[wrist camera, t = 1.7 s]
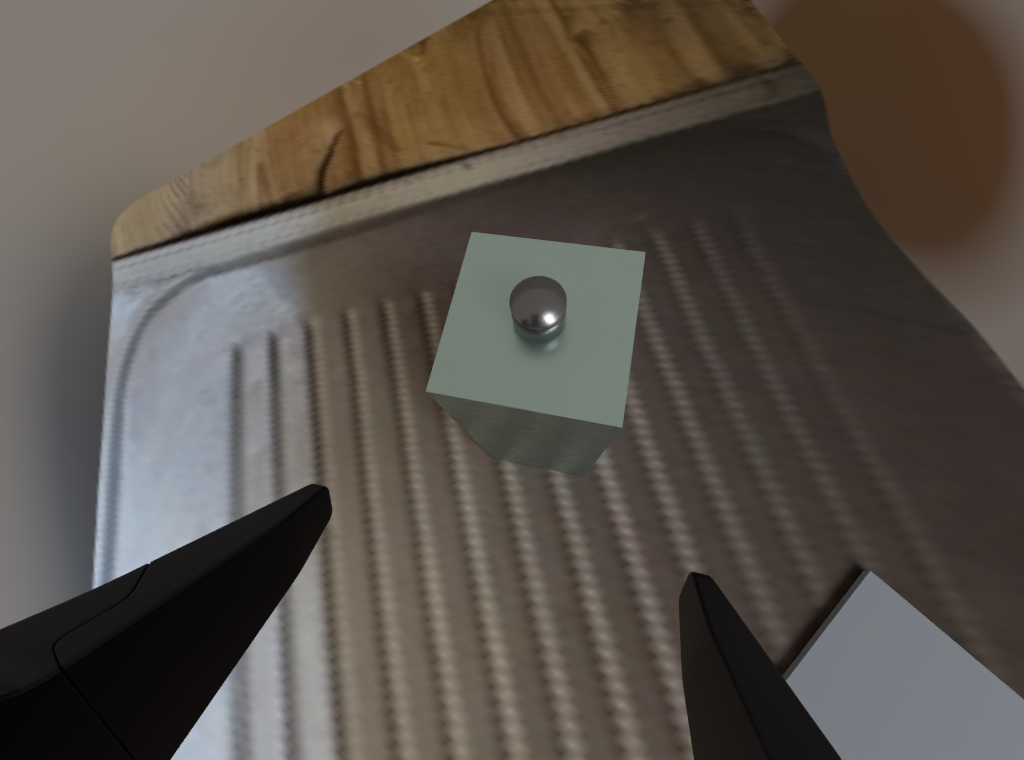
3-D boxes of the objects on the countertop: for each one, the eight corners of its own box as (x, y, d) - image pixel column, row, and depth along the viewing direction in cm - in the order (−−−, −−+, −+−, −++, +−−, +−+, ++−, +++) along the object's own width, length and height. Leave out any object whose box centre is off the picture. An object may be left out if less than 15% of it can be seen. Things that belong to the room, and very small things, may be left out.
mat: (953, 947, 15) (963, 958, 15) (744, 725, 18) (748, 730, 17) (1074, 747, 16) (1086, 752, 16) (864, 569, 19) (870, 570, 19)
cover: (583, 476, 22) (629, 417, 9) (493, 458, 22) (413, 379, 9) (597, 388, 23) (653, 227, 10) (512, 374, 24) (464, 207, 11)
